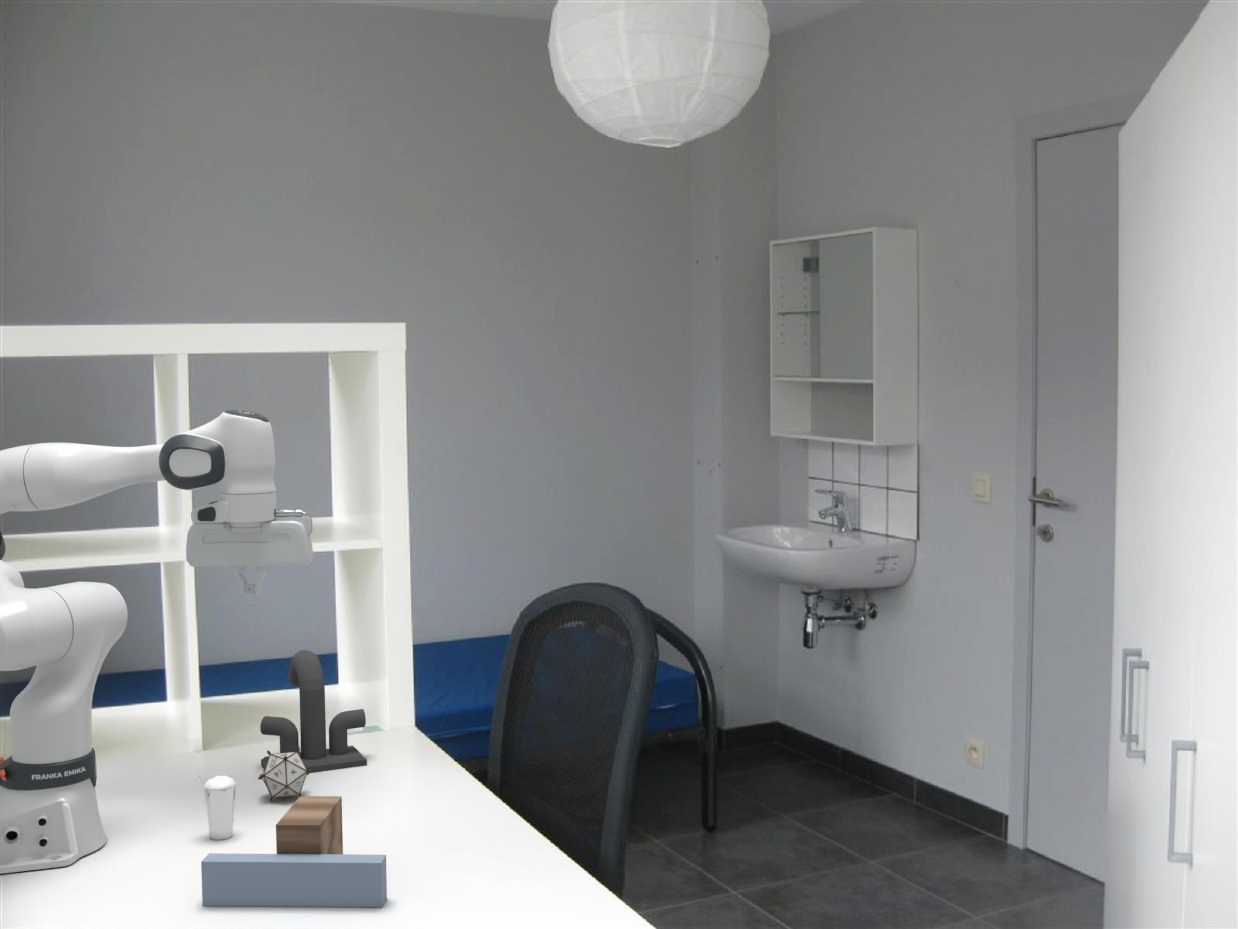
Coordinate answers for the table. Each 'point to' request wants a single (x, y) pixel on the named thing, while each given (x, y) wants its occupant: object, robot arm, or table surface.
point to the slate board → (294, 880)
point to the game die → (284, 774)
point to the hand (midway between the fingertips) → (251, 593)
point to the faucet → (315, 722)
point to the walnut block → (311, 827)
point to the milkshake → (220, 806)
